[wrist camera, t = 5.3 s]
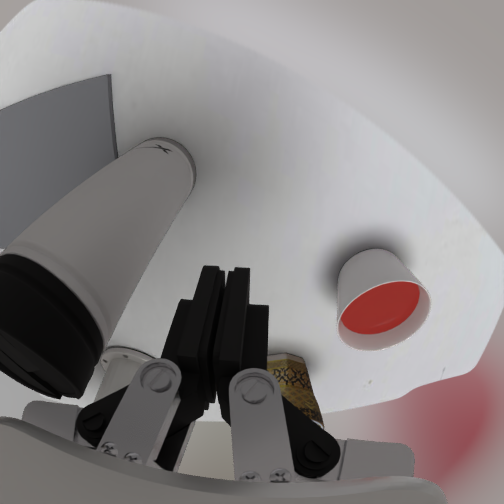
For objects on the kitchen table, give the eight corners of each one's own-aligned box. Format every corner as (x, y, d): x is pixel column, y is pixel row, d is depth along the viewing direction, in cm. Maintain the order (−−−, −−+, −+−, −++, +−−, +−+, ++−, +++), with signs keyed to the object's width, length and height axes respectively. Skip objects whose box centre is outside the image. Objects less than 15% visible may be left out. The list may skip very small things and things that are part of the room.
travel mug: (168, 119, 21) (-51, 279, 4) (210, 184, 24) (107, 426, 7) (114, 159, 23) (-60, 323, 6) (155, 216, 26) (40, 417, 9)
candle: (368, 316, 31) (380, 360, 26) (309, 286, 29) (315, 333, 24) (423, 264, 27) (447, 304, 22) (368, 221, 25) (390, 262, 19)
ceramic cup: (235, 351, 36) (227, 420, 28) (312, 339, 34) (318, 411, 26) (263, 395, 43) (261, 451, 35) (325, 387, 41) (330, 444, 32)
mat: (136, 255, 28) (133, 258, 28) (-7, 245, 29) (-9, 247, 29) (110, 74, 18) (107, 74, 18) (-37, 129, 19) (-41, 131, 19)
